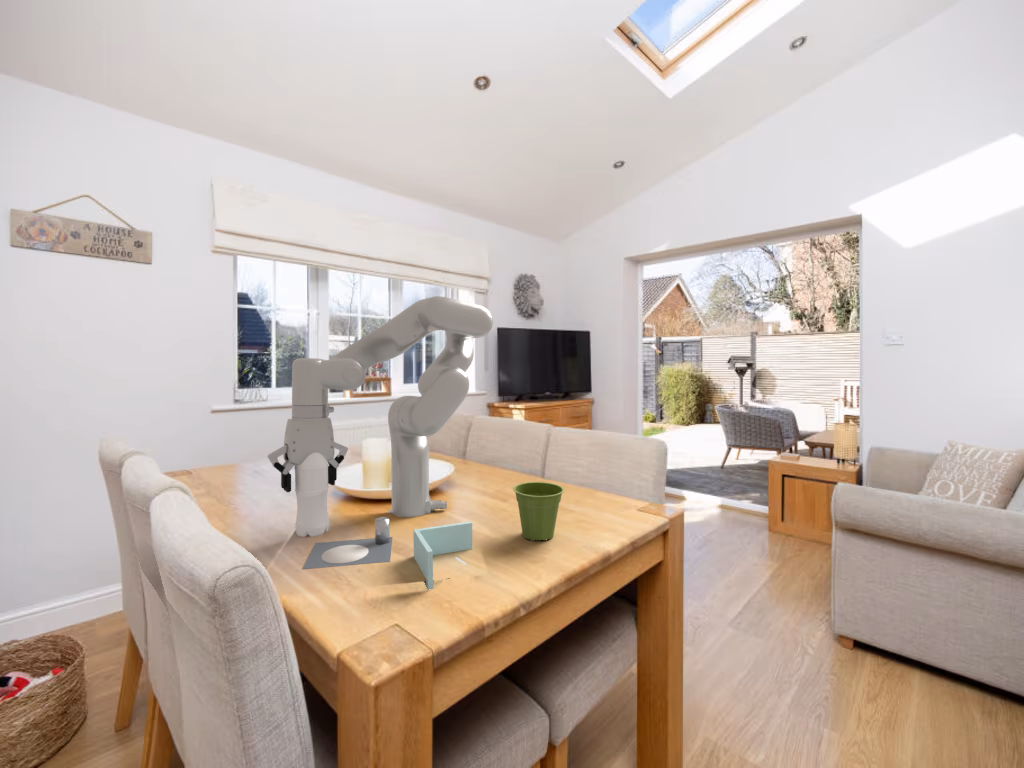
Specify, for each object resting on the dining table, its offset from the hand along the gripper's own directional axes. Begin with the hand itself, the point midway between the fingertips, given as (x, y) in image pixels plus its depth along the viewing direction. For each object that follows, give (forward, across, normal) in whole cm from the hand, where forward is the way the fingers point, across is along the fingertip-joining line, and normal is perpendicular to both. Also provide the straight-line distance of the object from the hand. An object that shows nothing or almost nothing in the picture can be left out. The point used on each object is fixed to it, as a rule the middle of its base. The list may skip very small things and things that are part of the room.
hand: (309, 487), depth 105 cm
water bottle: (+12, -1, 0) cm, 12 cm away
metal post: (+10, -10, +17) cm, 22 cm away
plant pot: (+11, -40, +34) cm, 54 cm away
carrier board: (+12, -2, +17) cm, 21 cm away
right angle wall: (+12, -15, +35) cm, 40 cm away
